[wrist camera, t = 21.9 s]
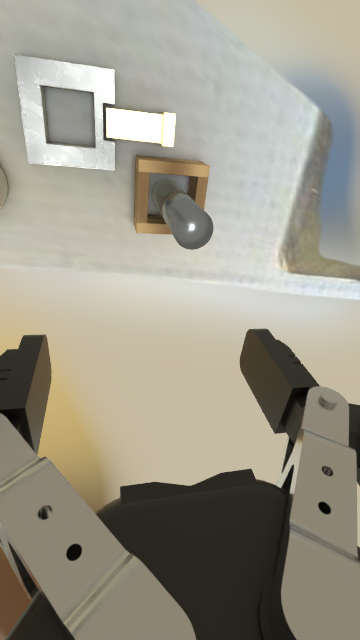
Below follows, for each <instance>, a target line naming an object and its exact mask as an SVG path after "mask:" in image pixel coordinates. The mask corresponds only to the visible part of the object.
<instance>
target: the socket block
mask: <svg viewBox="0 0 360 640" xmlns="http://www.w3.org/2000/svg"><path fill="white" fill-rule="evenodd" d="M14 61H15V69H16V76H17V84H18V91H19V99H20V106H21V114H22V121H23V129H24V136H25V144H26V151H27V159H28V163H30V164H42V165H54V166H66V167H78V168H90V169H102V170H114V171H115V141H114V140H105V139H103V103H105V104H113V105H114V104H115V70H114V69H107V68H101V67H94V66H88V65H81V64H75V63H68V62H61V61H55V60H48V59H42V58H35V57H29V56H22V55H16V54H14ZM44 86H46V87H53V88H61V89H68V90H75V91H83V92H90V93H94V106H95V138H96V147H95V146H85V145H75V144H65V143H55V142H49V133H48V123H47V113H46V103H45V92H44Z"/></svg>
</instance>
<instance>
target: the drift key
mask: <svg viewBox="0 0 360 640" xmlns="http://www.w3.org/2000/svg"><path fill="white" fill-rule="evenodd" d="M175 118H176V114H171V113H159V114H152V113H144V112H136V111H128V110H120V109H112V108H106V136H107V138H117V139H126V140H136V141H145V142H155V143H158V144H160V145H162V146H169V147H173V143H174V130H175Z"/></svg>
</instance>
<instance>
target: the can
mask: <svg viewBox="0 0 360 640" xmlns="http://www.w3.org/2000/svg"><path fill="white" fill-rule="evenodd" d="M7 195H8V184H7V180H6V177H5V174H4V172H3V170H2V169H1V167H0V208H1V207H2V206H3V205H4V203H5V200H6V198H7Z"/></svg>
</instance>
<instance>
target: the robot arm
mask: <svg viewBox="0 0 360 640" xmlns="http://www.w3.org/2000/svg"><path fill="white" fill-rule="evenodd" d="M240 368H241V372H242V374H243V375H244V377H245V379H246V381H247V383H248V385H249V387H250V388H251V390H252V392H253V394H254V396H255V398H256V399H257V401H258V403H259V405H260V407H261V409H262V411H263V413H264V414H265V416H266V418H267V420H268V422H269V424H270V426H271V428H272V429H273V431H274V433H275V434H276V433H285V432H286V433H287V434H288V436H289V437H288V439H287V442H286V446H285V450H284V455H283V459H282V464H281V468H280V473H279V477H278V481H277V485H274V484H271V483H268V482H265V481H261V480H256V479H255V476H254V474H253V472H252V469H246V470H239V471H232V472H224V473H220V474H218V475H216V476H213V477H211V478H209V479H206V480H204V481H202V482H200V483H197V484H195V485H192V486H185V485H176V484H168V483H160V482H151V483H144V484H136V485H129V486H122V487H120V498H119V499H116V500H114V501H112V502H111V503H109V504H107V505H105V506H104V507H102V508H101V509H99V510H98V511H97V512H96V513H94V512H93V511H92V509H91V508H90V507H89V506H88V505H87V503H86V502H85V501H84V500H83V499H82V498H81V496H80V495H79V494H78V493H77V491H76V490H75V489H74V488H73V487H72V485H71V484H70V483H69V482H68V481H67V480H66V478H65V477H64V476H63V475H62V474H61V472H60V471H59V470H58V469H57V468H56V466H55V465H54V464H53V463H52V462H51V461H50V460H49V459H48V458H47V457H43V458H42V459H41V458H39V457H38V456H37V453H38V447H39V443H40V437H41V432H42V427H43V421H44V416H45V411H46V405H47V400H48V395H49V390H50V384H51V363H50V356H49V349H48V342H47V337H46V335H24V336H23V337H22V340H21V343H20V345H19V348H18V349H12V350H7V351H6V352H4V353H3V354H2V355H1V356H0V546H1V547H2V549H3V551H4V553H5V554H6V556H7V558H8V560H9V562H10V564H11V566H12V568H13V570H14V572H15V574H16V576H17V577H18V579H19V581H20V583H21V584H22V586H23V588H24V589H25V591H26V593H27V595H28V596H29V598H30V600H31V603H30V604H29V605H28V607H27V608H26V610H25V612H24V613H23V614H22V616H21V617H20V619H19V620H18V622H17V623H16V625H15V626H14V627H13V629H12V630H11V632H10V633H9V635H8V636H7V638H6V639H5V640H360V548H359V547H358V546H357V482H358V484H359V485H360V405H355V404H348V403H347V401H346V400H345V398H344V397H343V396H342V395H340V394H339V393H338V392H336V391H334V390H332V389H329V388H326V387H321V386H319V384H318V383H317V382H316V381H315V379H314V378H313V377H312V376H311V374H310V373H309V372H308V371H307V369H306V368H305V367H304V365H303V364H301V362H300V360H299V359H298V358H297V357H295V354H294V353H293V352H292V350H291V349H290V348H289V347H288V346H286V345H285V344H284V343H282V342H281V341H279V340H276V339H275V338H274V337H273V335H272V334H271V333H270V332H269V330H268V329H249V330H248V331H247V333H246V337H245V341H244V345H243V349H242V352H241V356H240Z"/></svg>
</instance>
